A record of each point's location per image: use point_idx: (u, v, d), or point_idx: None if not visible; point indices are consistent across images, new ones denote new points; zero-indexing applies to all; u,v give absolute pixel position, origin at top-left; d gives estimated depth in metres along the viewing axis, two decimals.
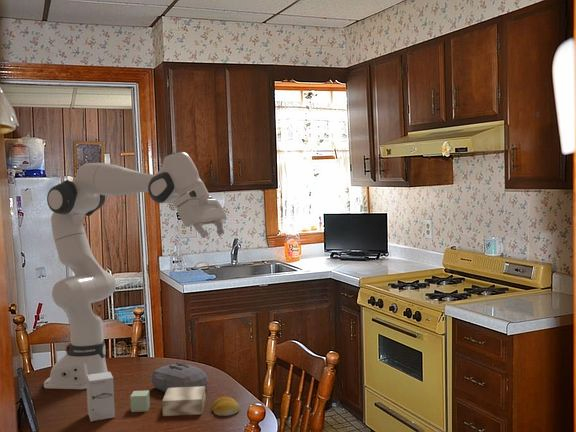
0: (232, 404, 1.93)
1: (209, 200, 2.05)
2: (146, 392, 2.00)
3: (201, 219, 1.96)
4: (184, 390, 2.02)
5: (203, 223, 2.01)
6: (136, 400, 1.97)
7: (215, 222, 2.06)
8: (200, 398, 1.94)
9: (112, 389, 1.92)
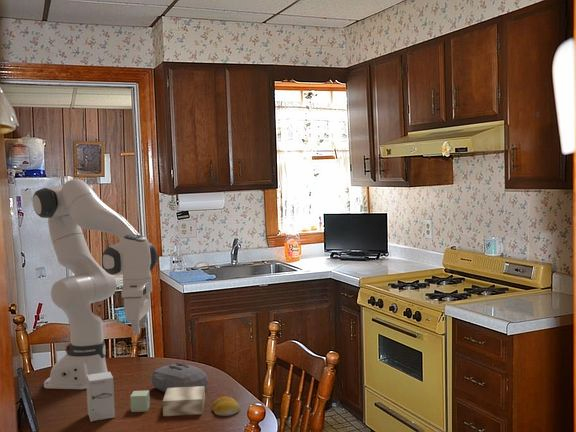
0: (232, 404, 1.93)
1: None
2: (146, 392, 2.00)
3: (141, 317, 1.92)
4: (184, 390, 2.02)
5: None
6: (136, 400, 1.97)
7: None
8: (200, 398, 1.94)
9: (112, 389, 1.92)
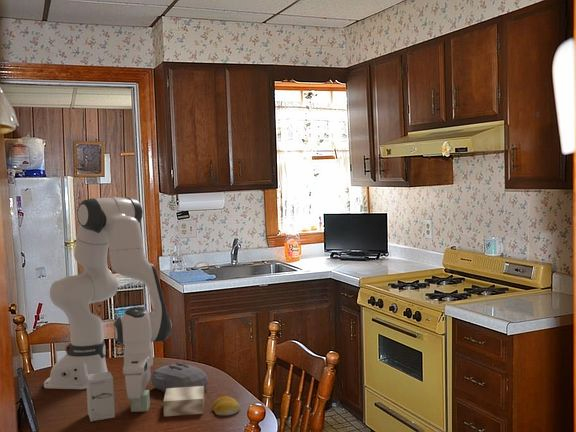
0: (232, 404, 1.94)
1: None
2: (146, 392, 2.00)
3: (142, 392, 1.94)
4: (184, 390, 2.02)
5: None
6: None
7: None
8: (201, 398, 1.95)
9: (112, 389, 1.92)
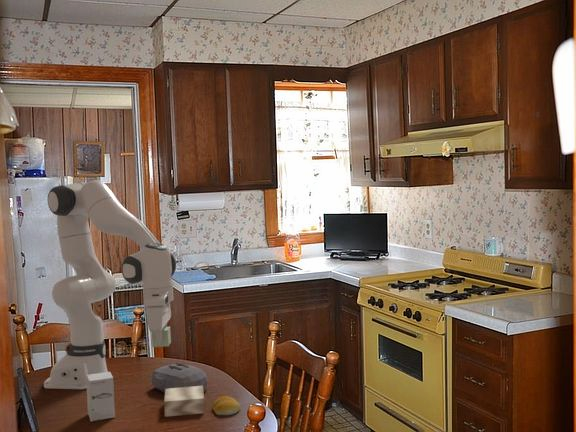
0: (233, 403, 1.94)
1: None
2: (167, 328, 1.98)
3: (163, 326, 1.92)
4: (183, 390, 2.02)
5: None
6: None
7: None
8: (202, 397, 1.95)
9: (112, 389, 1.92)
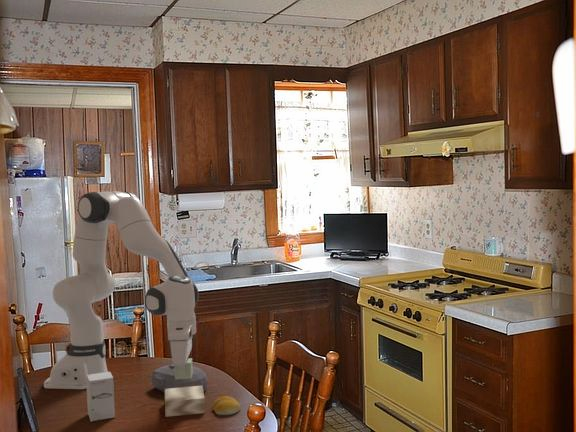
0: (233, 403, 1.94)
1: None
2: (189, 360, 1.99)
3: (186, 359, 1.93)
4: (183, 390, 2.02)
5: None
6: None
7: None
8: (203, 397, 1.95)
9: (112, 389, 1.92)
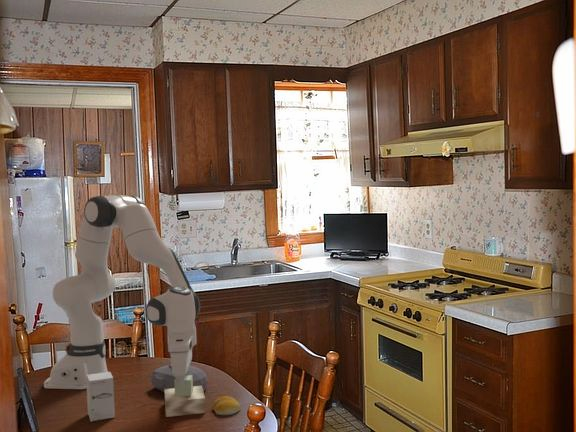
0: (233, 403, 1.94)
1: None
2: (190, 377, 1.99)
3: (186, 371, 1.93)
4: None
5: None
6: None
7: None
8: (203, 397, 1.95)
9: (112, 389, 1.92)
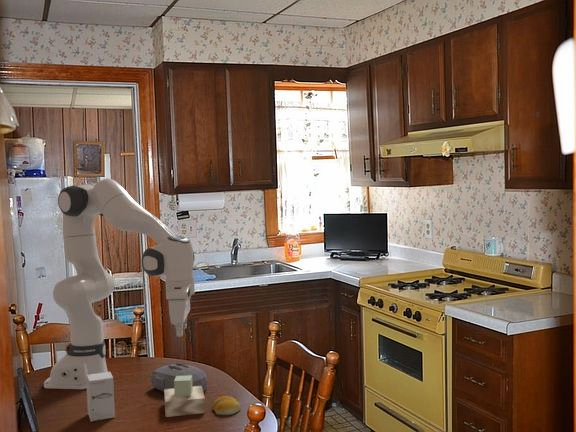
0: (233, 403, 1.94)
1: None
2: (189, 377, 1.99)
3: (184, 319, 1.92)
4: None
5: None
6: (180, 385, 1.96)
7: None
8: (203, 397, 1.95)
9: (112, 389, 1.92)
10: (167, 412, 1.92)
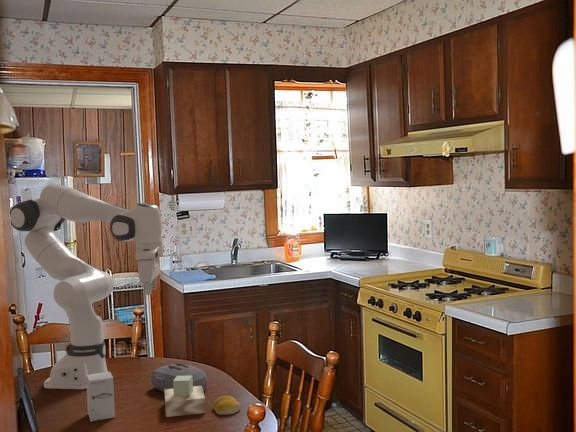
0: (233, 403, 1.94)
1: None
2: (189, 377, 1.99)
3: (153, 279, 2.08)
4: None
5: None
6: (179, 385, 1.96)
7: None
8: (203, 397, 1.95)
9: (112, 389, 1.92)
10: (167, 412, 1.92)
